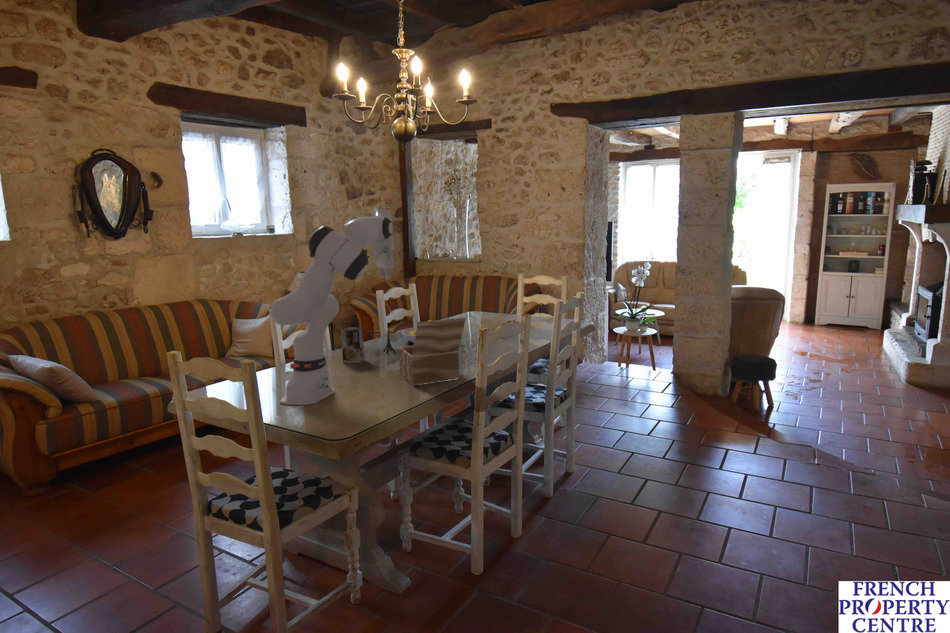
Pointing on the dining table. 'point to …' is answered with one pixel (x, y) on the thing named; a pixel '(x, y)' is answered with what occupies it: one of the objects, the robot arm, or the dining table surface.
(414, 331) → the fruit bowl
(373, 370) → the dining table surface
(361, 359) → the coffee box
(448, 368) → the carton
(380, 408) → the dining table surface
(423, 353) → the carton flap
